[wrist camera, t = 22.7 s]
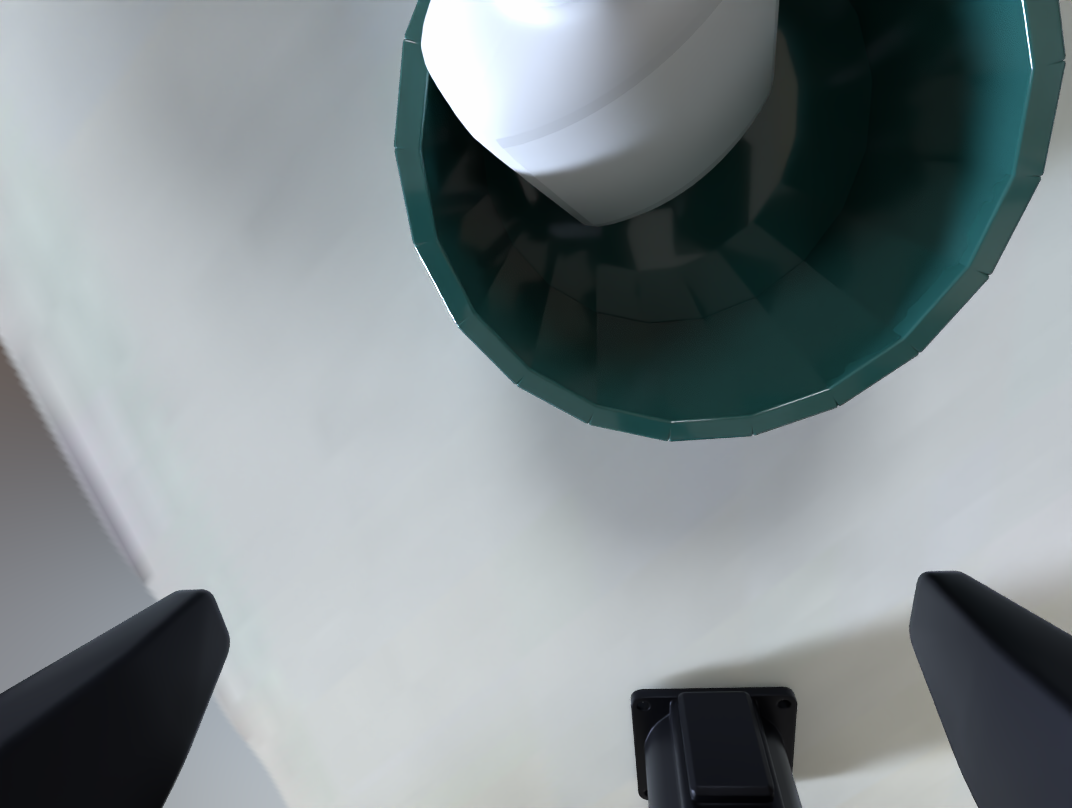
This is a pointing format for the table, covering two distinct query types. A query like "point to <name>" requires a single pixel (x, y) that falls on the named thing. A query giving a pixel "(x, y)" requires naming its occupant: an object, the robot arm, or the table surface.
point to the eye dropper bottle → (604, 91)
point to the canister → (755, 224)
